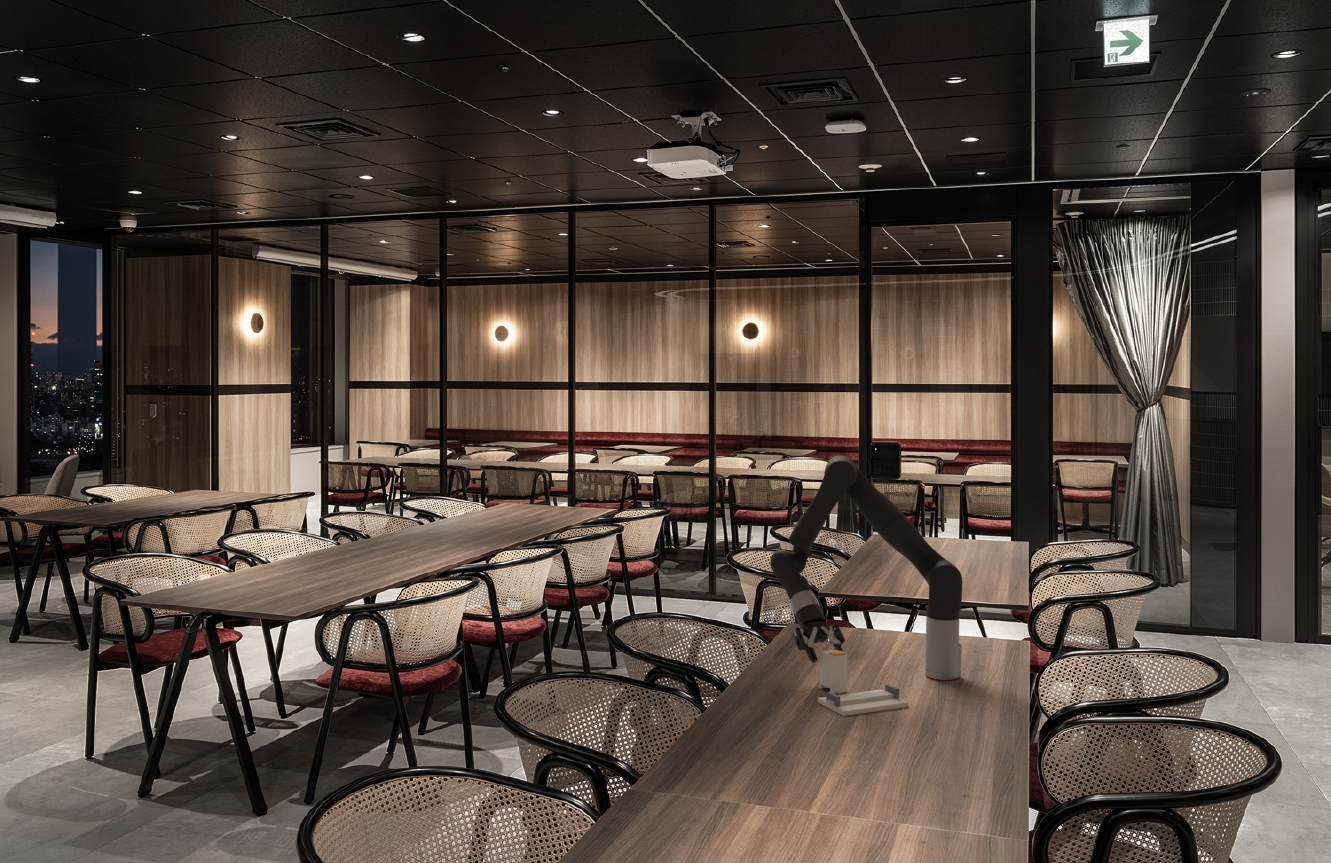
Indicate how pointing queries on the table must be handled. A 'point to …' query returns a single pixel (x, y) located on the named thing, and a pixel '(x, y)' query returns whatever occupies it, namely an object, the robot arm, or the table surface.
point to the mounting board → (864, 701)
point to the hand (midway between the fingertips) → (828, 659)
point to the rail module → (833, 670)
